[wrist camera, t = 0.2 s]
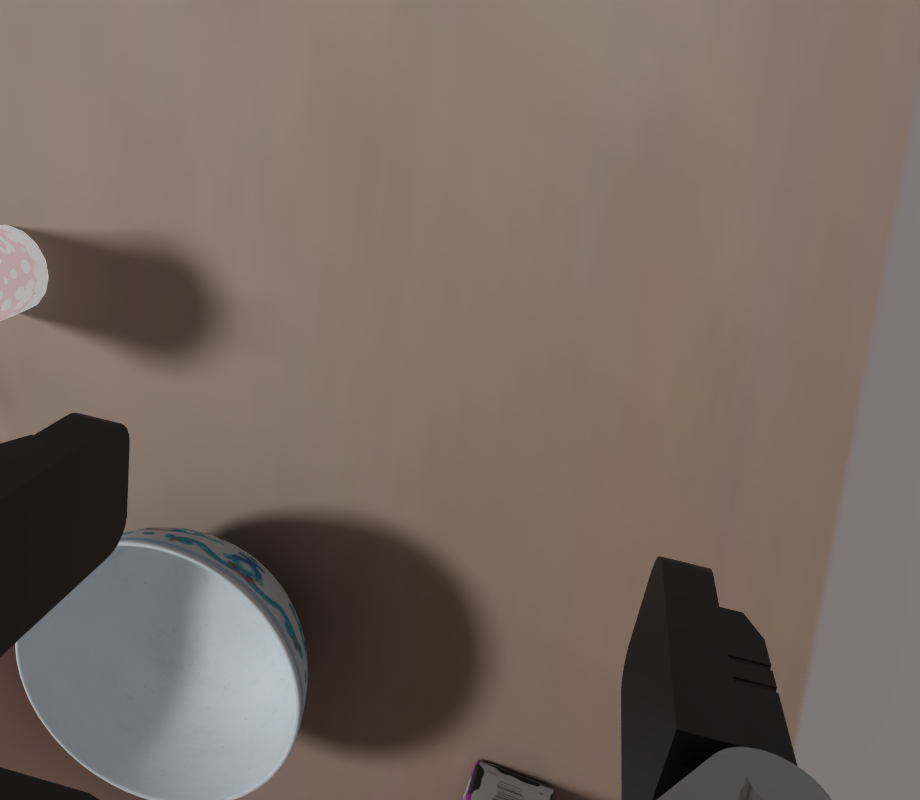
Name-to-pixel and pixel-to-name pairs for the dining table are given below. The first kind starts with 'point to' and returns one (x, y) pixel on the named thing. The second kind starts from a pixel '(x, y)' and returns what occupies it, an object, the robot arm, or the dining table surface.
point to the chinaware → (172, 668)
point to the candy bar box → (503, 785)
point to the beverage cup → (20, 272)
